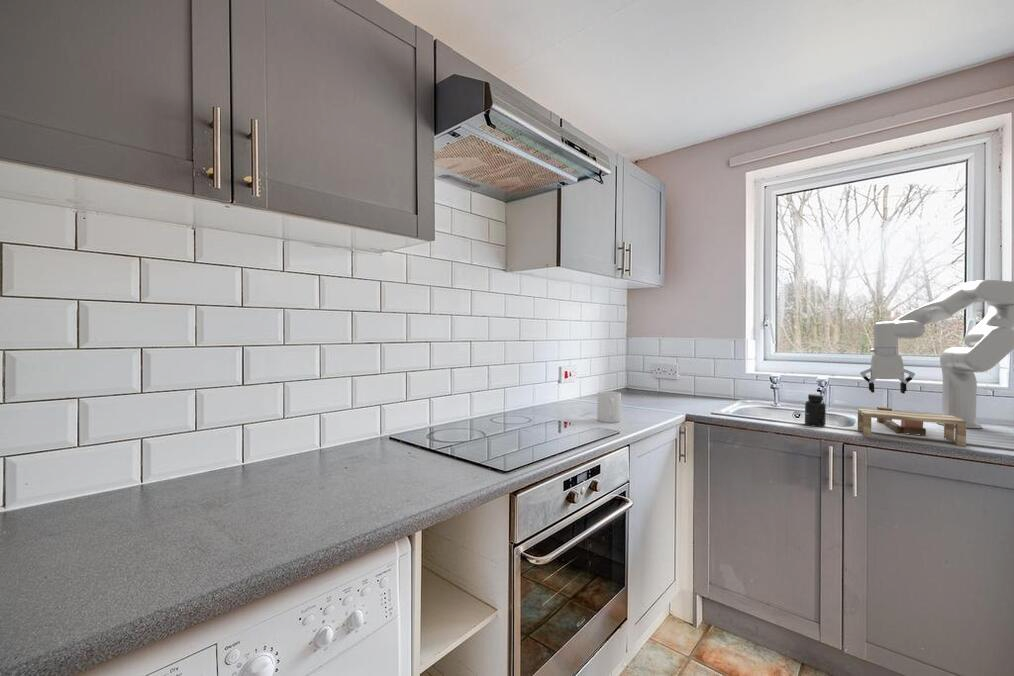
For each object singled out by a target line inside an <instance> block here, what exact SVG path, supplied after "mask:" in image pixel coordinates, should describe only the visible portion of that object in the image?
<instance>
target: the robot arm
mask: <svg viewBox="0 0 1014 676" xmlns="http://www.w3.org/2000/svg"><path fill="white" fill-rule="evenodd" d="M982 302H984V303H985V302H986V304H987V308H988V310H987V313H986V315H985V316H984V317H983V319H982V320H981V321H980V322H978V323H977V324H976V325H975V326H974V327H973V328H972V329H971V330H969V332H968V333H967V334H966V335H965V337H964V339H963V340H964V341H963V342H964V344H965V345H966V346H953V347H949V348H946V349H945V350H943V351H942V353H941V354H940V357H939V363H940V368H941V371H942V372H941V373H942V374H941V375H942V389H941V390H942V395H941V396H942V397H941V415H952V416H955V417H957V418H959V419H962V420H964V421H966V429H981V428H982V426H983V425H982V424H980V423H978V422H977V389H978V387H977V386H978V385H977V384H978V381H977V377H976V375H975V373H985V372H987V371H989V370H991V369H993V368H994V367H996V365H997V364H999V363H1000V362H1001V361H1002V360H1003V359H1004V358H1005V357H1007V356H1008V355H1009V354H1010V353H1011V352H1012V351H1013V350H1014V329H1013V328H1014V281H1012V280H1011V281H1009V280H999V279H997V280H996V279H982V280H975V281H968V282H964V283H962V284H960V285H958V286H957V287H955V288H953V289H951V290H950V291H948V292H945V294H943V295H941V296H939V297H938V298H936V299H935V300H933V301H930V302H928V303H926V304H924V305H922V306H920V307H918V308H914V309H913V310H911V311H908V312H907V313H904V314H903V315H901V316H900V317H897V318H896V319H894V320H893V321H878V322H875V323H874V325H873V348H870V349H869V352H870V353H873V354H872V355H871V360H870V361H871V362H870V368H868V369H865V370H862V371H860V372H859V374H860V375H861V377H862V379H864V380H865V381H866V382H867V383H868V391H870V392H871V393H873V394H874V393H875V383H874V381H876V380H899V381H900V383H899V386H900V388H899V389H900V393H901V394H906V392H907V390H908V388H907V384H908V383H910V381H912V380H913V378H914V376H916V373H915V372H913V371H911V370H908V369H905V367H904V362H903V361H904V360H903V358H902V355H901V354H899V339H900V340H901V339H902V340H915V339H919V338H921V337H922V336H923V335H925V332H926V327H925V325H929V324H931V323H935V322H936V323H938V322H940V321H941V322H942V321H945V320H947V319H950V318H953V317H954V316H956V315H958V314H959V313H961V312H962V311H964V310H966V309H968V308H970V307H972V306H974V304H976V303H982ZM868 373H870V377H868V376H867V375H866V374H868ZM905 374H908V376H907V377H906V378H905ZM937 424H938V425H941V426H944V423H937ZM954 428H955V424H954Z"/></svg>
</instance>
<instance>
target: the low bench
mask: <svg viewBox="0 0 1014 676" xmlns="http://www.w3.org/2000/svg"><path fill="white" fill-rule="evenodd" d="M873 418H874V419H877V418H885V419H892V420H898V421H901V420H910V421H922V422H923V423H936V424H938V423H944V425H943V430H944V431H943V438H944V439H945V438H946V439H945V440H948V439H953V440H952V441H954V445H956V446H957V447H967V428H966V421H964V420H962V419H959V418H957V417H955V416H952V415H942V414H937V413H936V414H935V413H923V412H921V413H920V412H910V411H897V410H895V411H894V410H892V411H884V410H877V409H868V408H857V431H858V432H862V436H863V437H866V438H867V437H868V438H871V437H872V419H873ZM954 424H955V427H954Z"/></svg>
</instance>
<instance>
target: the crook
mask: <svg viewBox="0 0 1014 676" xmlns="http://www.w3.org/2000/svg"><path fill="white" fill-rule="evenodd" d="M876 410H884V411H893V409H892V407H886V406H876ZM876 422H878V423H881V424H884V425H885V426H886V427H887V428H889V429H890V430H892V431H893V432H894V431H895V432H894V433H896V434H900V433H909V434H908V435H911V434H920V435H919V436H922V435H926V436H927V429H926V428H925V427H923V428H919V427H907V426H901V425H900V424H898V423H897V422H895V421H893V419H885V418H876Z"/></svg>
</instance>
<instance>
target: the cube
mask: <svg viewBox="0 0 1014 676" xmlns="http://www.w3.org/2000/svg"><path fill="white" fill-rule="evenodd" d="M900 426H907V427H919V428H924V422H922V421H910V420H900Z"/></svg>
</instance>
